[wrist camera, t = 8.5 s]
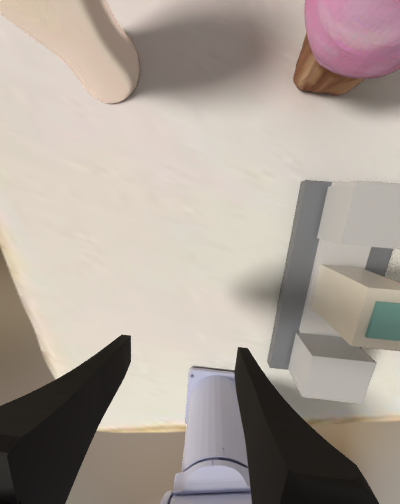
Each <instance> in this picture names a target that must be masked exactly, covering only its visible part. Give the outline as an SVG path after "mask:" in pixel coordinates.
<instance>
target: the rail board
mask: <svg viewBox="0 0 400 504" xmlns="http://www.w3.org/2000/svg"><path fill="white" fill-rule="evenodd" d="M393 249H400V184H393V183H379V182H365V181H353V182H324V181H310V180H305V181H302V182H301V185H300V190H299V196H298V201H297V206H296V212H295V217H294V222H293V228H292V233H291V238H290V244H289V249H288V254H287V260H286V265H285V270H284V276H283V281H282V286H281V291H280V297H279V302H278V307H277V313H276V318H275V323H274V329H273V334H272V339H271V345H270V350H269V355H268V361H267V362H268V364H269V367H270V368H278V369H287V370H289V371H290V374H291V376H292V378H293V380H294V382H295V384H296V386H297V388H298V390H299V392H300V394H301V396H302V397H305V398H314V399H322V400H331V401H340V402H348V403H357V404H362V403H363V400H364V397H365V395H366V392H367V389H368V386H369V383H370V380H371V377H372V374H373V371H374V368H375V365H376V362H375V361H374V360H373V359H372V358H371V357H370V356H369V355H367V354H366V353H365V352H364V351H363V350H362V349H361V348H362V347H354V346H350V345H349V344H348V343H347V342H346V341H345V340H344V339H343V338H342V337H341V336H340V335H339V334H338V333H337V332H336V331H335V330H334V329H333V328H332V327H331V326H330V325H329V324H328V323H327V322H326V321H325V320H323V319H322V318H321V317H320V316H319V315H318V314H317V313H316V312H315V311H314V310H313V309H312V308H311V306H312V302H313V297H314V293H315V289H316V284H317V280H318V275H319V271H320V267H321V264H322V265H333V266H345V267H357V268H362V269H365V270H367V271H370V272H373V273H375V274H378V275H380V276H383V277H384V275H385V272H386V269H387V266H388V263H389V260H390V257H391V253H392V250H393Z"/></svg>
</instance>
